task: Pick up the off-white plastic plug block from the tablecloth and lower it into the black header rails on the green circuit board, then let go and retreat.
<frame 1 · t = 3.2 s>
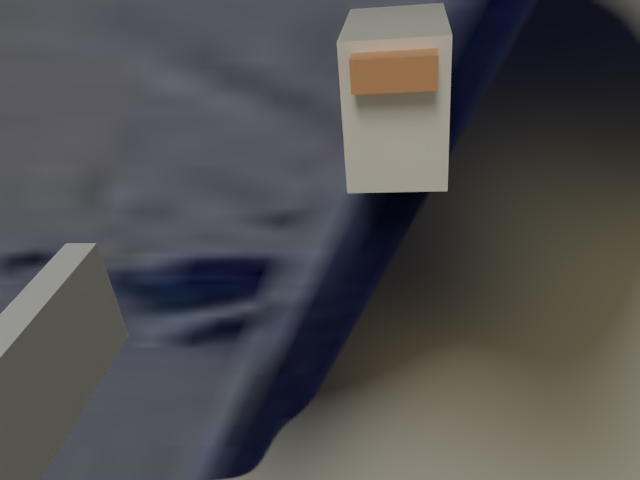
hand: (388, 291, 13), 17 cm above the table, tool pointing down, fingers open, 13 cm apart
plug: (397, 74, 27), on the table
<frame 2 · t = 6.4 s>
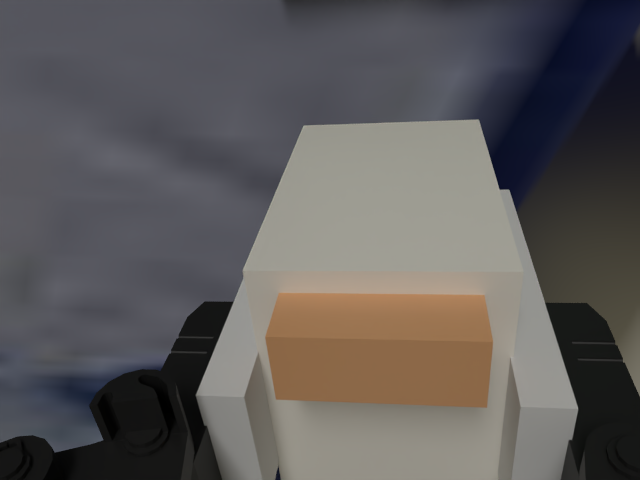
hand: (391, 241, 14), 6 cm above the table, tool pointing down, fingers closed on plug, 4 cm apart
plug: (391, 234, 15), point 5 cm above the table, touching gripper
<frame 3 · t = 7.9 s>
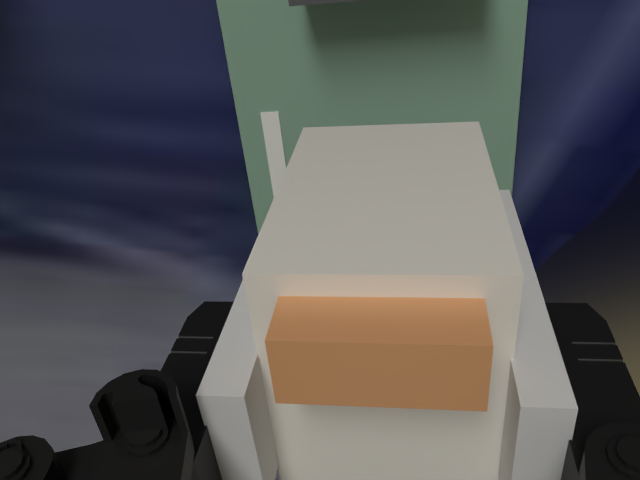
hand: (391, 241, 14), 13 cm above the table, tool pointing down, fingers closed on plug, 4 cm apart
plug: (391, 236, 15), point 12 cm above the table, touching gripper
board: (378, 180, 28), on the table
when the fingers open (1 cm above the table, at t = 9.3 s): plug stays where it is, resting on board.
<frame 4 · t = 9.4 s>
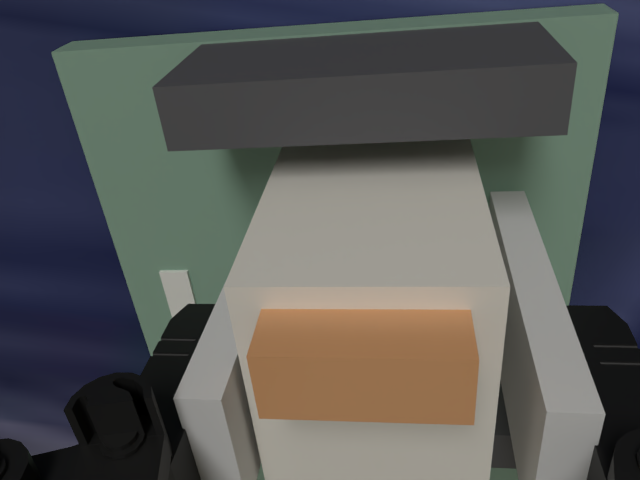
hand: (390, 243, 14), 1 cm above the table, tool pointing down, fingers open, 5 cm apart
plug: (379, 240, 15), point 1 cm above the table, touching board, gripper
board: (348, 354, 18), on the table
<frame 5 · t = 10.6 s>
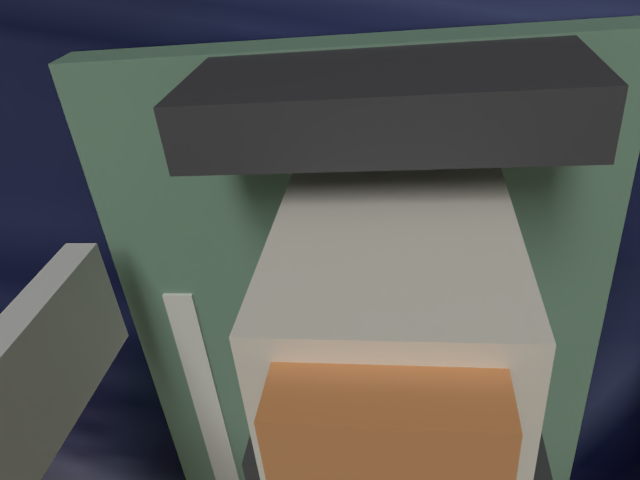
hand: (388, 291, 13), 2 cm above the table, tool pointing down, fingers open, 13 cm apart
plug: (397, 265, 14), point 1 cm above the table, touching board
board: (361, 381, 17), on the table
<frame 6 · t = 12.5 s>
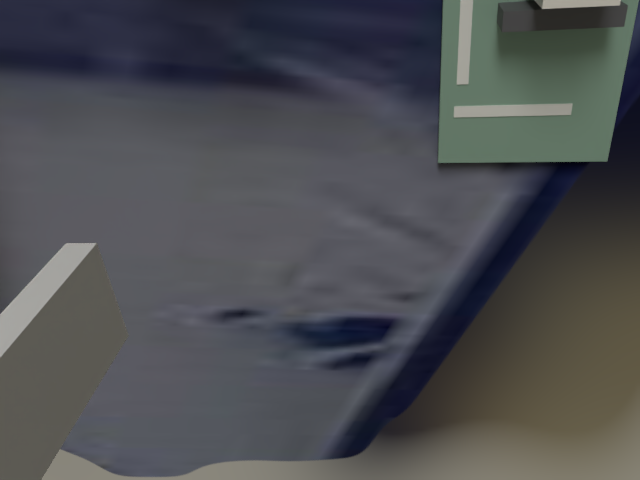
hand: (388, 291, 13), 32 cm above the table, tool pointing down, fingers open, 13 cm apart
board: (534, 17, 39), on the table
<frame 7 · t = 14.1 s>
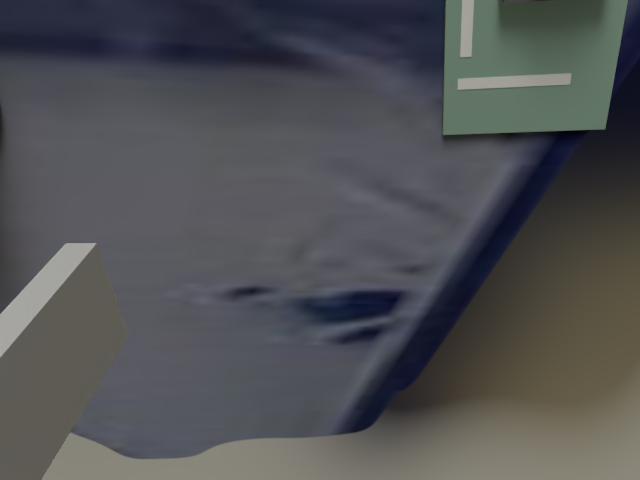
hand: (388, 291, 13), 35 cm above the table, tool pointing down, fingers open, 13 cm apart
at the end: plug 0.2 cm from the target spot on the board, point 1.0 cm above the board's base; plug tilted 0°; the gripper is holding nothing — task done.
